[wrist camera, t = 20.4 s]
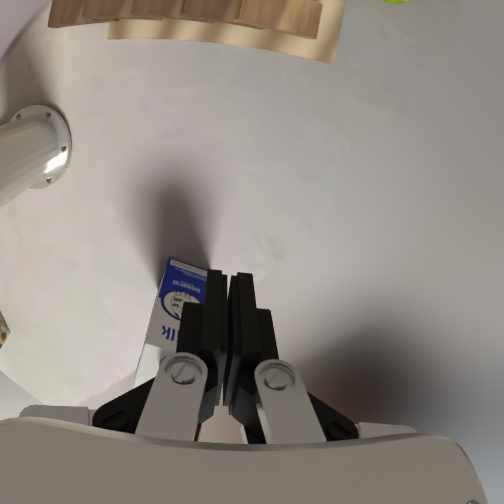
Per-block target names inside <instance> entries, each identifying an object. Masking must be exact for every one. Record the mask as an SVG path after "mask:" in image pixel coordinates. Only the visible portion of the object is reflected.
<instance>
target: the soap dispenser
mask: <svg viewBox="0 0 504 504" xmlns="http://www.w3.org/2000/svg"><path fill="white" fill-rule="evenodd" d="M383 1H385V2H388V3H391V4H399V3H402V2H405V1H408V0H383Z"/></svg>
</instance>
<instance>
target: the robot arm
mask: <svg viewBox="0 0 504 504" xmlns="http://www.w3.org/2000/svg"><path fill="white" fill-rule="evenodd" d="M50 114H51V115H50ZM65 146H66V148H65ZM70 155H71V138H70V134H69V130H68V127H67V125H66V123H65V121H64V120H63V118H62V117H61V115H60V114H59V113H58V112H57V111H55V110H54V109H52V108H51V107H49V106H45V105H38V104H36V105H31V106H27V107H24V108H23V109H21V110H19V111H18V112H17V113H16V114H15V115H14V116H13V117H12V118H11V120H10V121H9V123H7V124H4V125H1V126H0V208H2V207H3V206H4V205H6V204H7V203H8V202H10V201H11V200H12V199H14V198H15V197H16V196H18V195H19V194H21V193H22V192H23V191H25V190H26V189H28V188H32V189H42V188H45V187H48V186H50V185H51V184H53V183H54V182H56V181H57V180H58V179H59V178H60V177H61V176H62V175H63V173H64V171H65V170H66V168H67V165H68V163H69V160H70ZM222 383H223V406H229V415H232V416H233V417H234V418H235V419H236V420H237V421H239V422H240V430H241V435H242V439H243V443H244V444H225V443H208V442H199V438H200V434H201V429H202V423H203V422H204V421H206V420H207V419H209V418H210V417H211V416H213V413H214V407H215V405H216V406H218V405H219V400H220V394H221V388H222ZM0 504H488V501H487V498H486V495H485V493H484V490H483V488H482V485H481V483H480V480H479V478H478V476H477V473H476V471H475V469H474V467H473V465H472V463H471V461H470V459H469V457H468V456H467V454H466V453H465V451H464V450H463V448H462V447H461V446H460V445H459V444H458V443H457V442H455V441H454V440H451V439H449V438H447V437H443V436H439V435H434V434H427V433H418V432H417V431H416V430H414V429H413V428H411V427H408V426H400V425H386V424H374V423H365V422H360V423H359V424H358V425H357V424H354V423H353V422H352V421H351V420H349V419H348V418H346V417H345V416H343V415H342V414H340V413H339V412H337V411H336V410H334V409H333V408H331V407H330V406H328V405H327V404H325V403H324V402H322V401H320V400H319V399H318V398H316V397H315V396H313V395H312V394H310V393H309V392H307V391H306V389H305V387H304V384H303V382H302V380H301V377H300V375H299V373H298V371H297V369H296V368H295V367H293V366H292V365H291V364H289V363H287V362H285V361H282V360H279V356H278V351H277V345H276V339H275V333H274V328H273V321H272V316H271V311H270V310H269V309H258V308H256V300H255V292H254V283H253V275H252V274H251V273H241V272H238V273H237V276H233V275H232V276H231V281H230V287H229V294H228V300H227V275H223V274H222V270H212V269H207V278H206V288H205V298H204V303H195V302H186V301H184V302H183V308H182V314H181V320H180V327H179V333H178V340H177V347H176V353H174V354H171V355H169V356H167V357H166V358H165V359H163V361H162V363H161V364H160V366H159V369H158V372H157V374H156V376H155V377H154V378H152V379H150V380H148V381H146V382H145V383H143V384H141V385H139V386H137V387H136V388H134V389H132V390H130V391H128V392H127V393H125V394H123V395H121V396H119V397H117V398H115V399H114V400H112V401H110V402H108V403H106V404H104V405H102V406H101V407H100V408H99V409H97V410H89V409H88V407H70V406H47V405H30V406H28V407H26V408H24V409H23V410H22V412H21V413H20V415H19V417H17V418H9V419H5V420H2V421H0Z"/></svg>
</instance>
